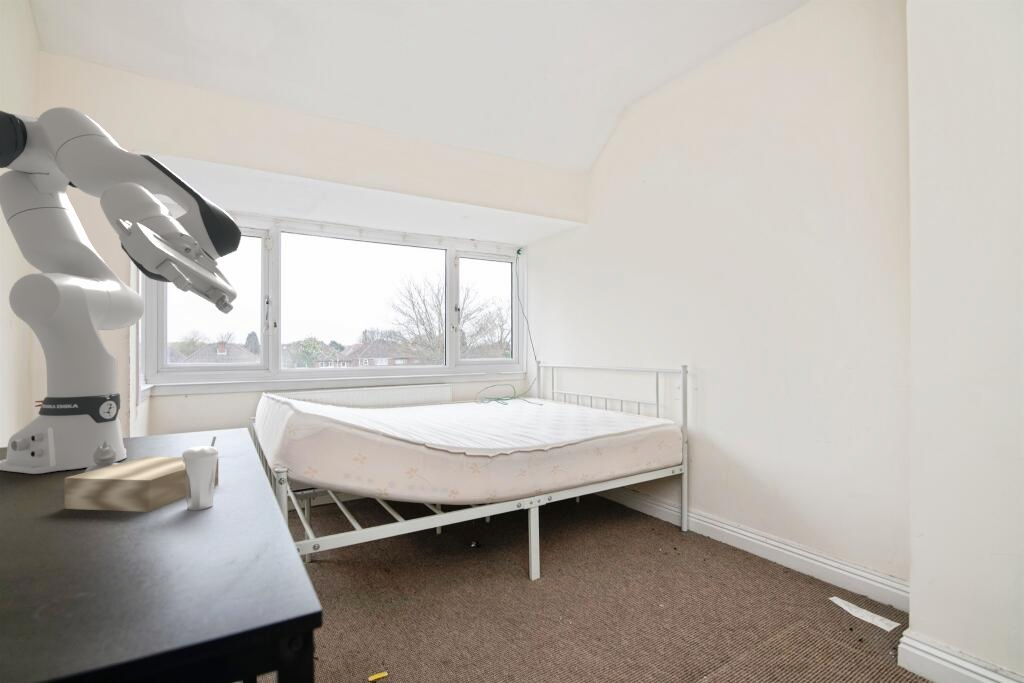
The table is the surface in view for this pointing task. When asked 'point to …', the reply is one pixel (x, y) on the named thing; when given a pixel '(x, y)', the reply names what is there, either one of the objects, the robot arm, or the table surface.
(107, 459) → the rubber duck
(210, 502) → the milkshake
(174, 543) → the table surface
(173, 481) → the block
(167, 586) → the table surface
